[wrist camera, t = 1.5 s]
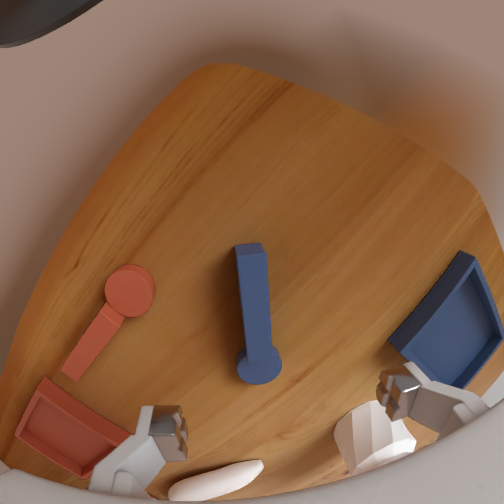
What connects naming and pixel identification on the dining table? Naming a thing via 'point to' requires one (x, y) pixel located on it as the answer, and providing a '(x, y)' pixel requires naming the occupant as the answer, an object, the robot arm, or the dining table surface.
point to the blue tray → (452, 326)
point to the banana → (215, 482)
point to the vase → (371, 438)
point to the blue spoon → (255, 317)
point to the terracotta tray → (67, 430)
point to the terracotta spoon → (111, 315)
